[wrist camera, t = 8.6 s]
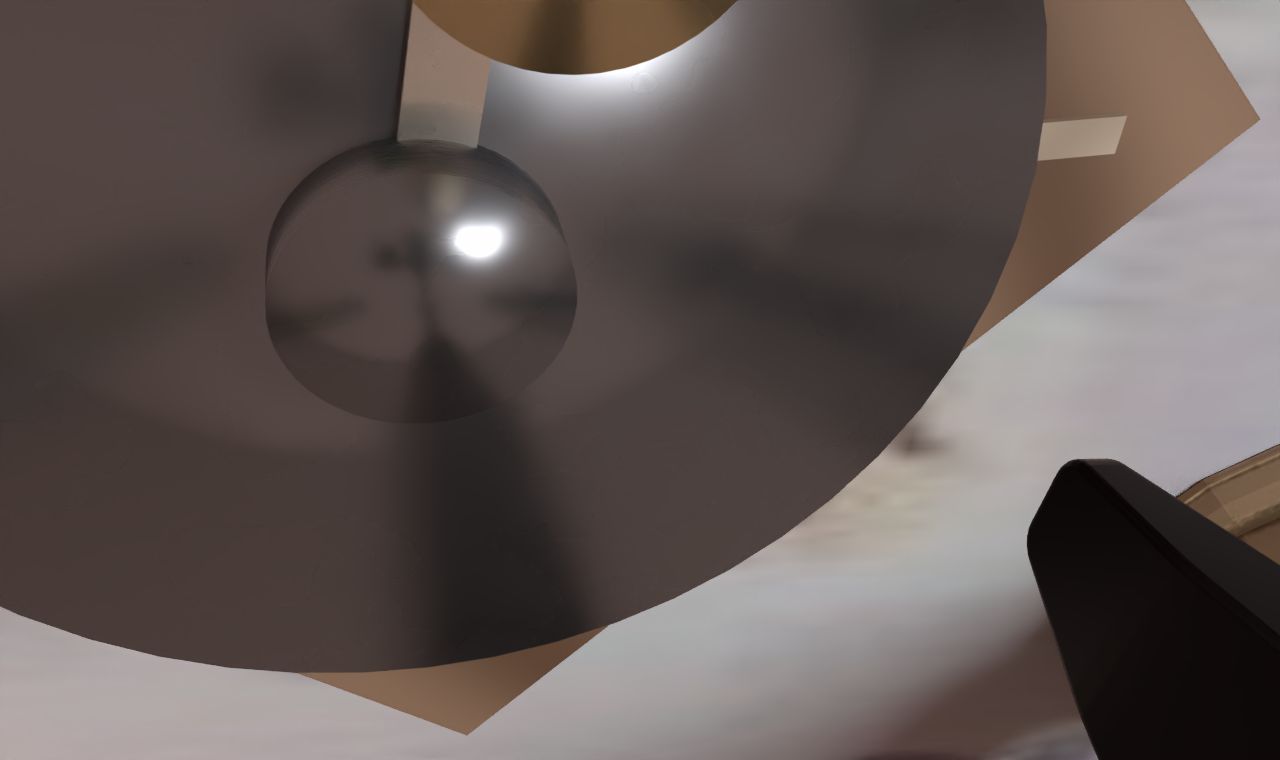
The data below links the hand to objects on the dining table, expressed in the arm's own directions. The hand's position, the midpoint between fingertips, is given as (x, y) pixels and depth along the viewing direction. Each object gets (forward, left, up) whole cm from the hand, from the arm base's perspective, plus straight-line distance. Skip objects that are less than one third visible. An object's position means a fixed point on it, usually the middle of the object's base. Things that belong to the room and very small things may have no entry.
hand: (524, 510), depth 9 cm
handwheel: (-2, -2, -9) cm, 10 cm away
